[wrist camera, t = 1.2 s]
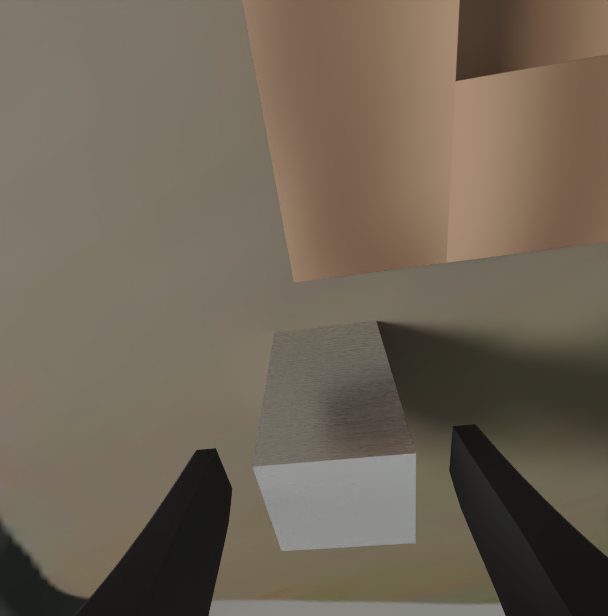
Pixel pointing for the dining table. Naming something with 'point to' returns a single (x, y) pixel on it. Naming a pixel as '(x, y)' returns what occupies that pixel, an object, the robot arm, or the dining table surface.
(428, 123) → the well block
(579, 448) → the dining table surface
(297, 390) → the grey rectangular block
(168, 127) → the dining table surface
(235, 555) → the dining table surface
